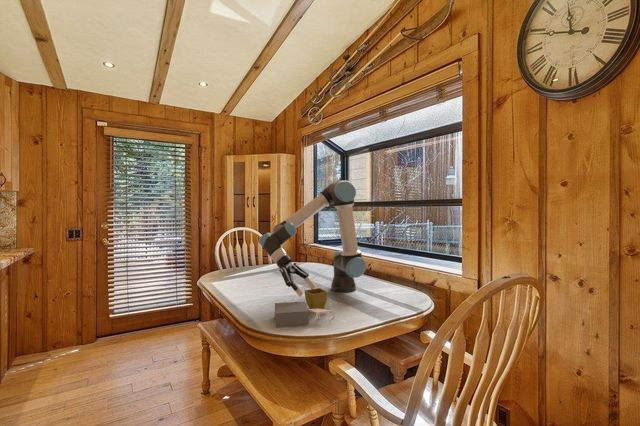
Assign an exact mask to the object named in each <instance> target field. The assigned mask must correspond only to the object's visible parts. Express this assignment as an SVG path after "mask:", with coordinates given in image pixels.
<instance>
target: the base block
mask: <svg viewBox="0 0 640 426" xmlns="http://www.w3.org/2000/svg"><path fill="white" fill-rule="evenodd" d="M308 309H309V307H308V305H307V303H306V300H305V301H304V300H303V301H287V302H274V322H275V324H274V327H275V328H290V327H291V328H292V327H300V326H301V327H304V326H310V320H309V317H310V312H309V310H308Z"/></svg>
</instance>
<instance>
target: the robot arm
mask: <svg viewBox="0 0 640 426" xmlns="http://www.w3.org/2000/svg"><path fill="white" fill-rule="evenodd" d="M356 196H357V189H356V186H355V185H354V184H353V183H352V182H350V181H349V180H339V181H336V182H335V181H334V182H332V183H330V184H328V185H327V186H326V187H325V188H324V189H323V190H322V191H320V192H319V193H318V195H317V196H316V197H314V198H313V199H312V200H311V201H309V202H307V204H305V205H304V206H303V207H301V208H300V209H298V210H297V211H295V212H294V213H293V214H291V215H290V216H288V217H287V218H286V219H285V220H283V221H281V222H280V223H278V224H276V225H275V226H274V227H273V229H272V234H271V233H270V232H266V233H264V234H262V235H261V236H260V237H259V239H258V242H259V244H260V246H261V247H262V249H263V250H264V251H265V252H266V254H267V255H268V256H269V257H270V258H271V259H272V261H273V262H274V263H275V264H276V266H277V267H278V268H279V271H278V272H280V274H281V276H282V279H283V280H284V283H285V285H286V286H287V287H288V288H292V289H293V291H294V292H295V293H296V294H297V296H298V297H301V296H303V295H304V294H305V292H304V291H303V290H302V288H300V286H299V285H298V284H297V282H294V281H295V280H294V277H293V274H294V275H297V276H298V277H300V278H302V279H303V281H304V282H305V283H306V284H307V285H308V287H309V289H316V287H317V285H316V284H315V283H314V282H313V281H312V280H311V279H310V274H309V272H307V271H306V270H305V269H303V268H302V267H301V266H299V264H297V262H293V263H292V261H293V260H292V258H291V257H290V256H289V254H288V253H287V252H286V251H285V249H284V248H283V247H282V246H283V244H285V243H286V242H287V241H288V240H290V239H291V238H292V237H294V236H295V235H296V234H297V233H298V230H297V228H298V227H299V226H301V225H302V224H304V223H305V222H306V221H308V220H309V219H311V218H312V217H314V216H315V215H316V214H317V213H319V212H320V211H321V210H323V209H324V208H327V207H330V206H331V205H333V207H334V208H335V209H336V210H337V211H336V212H337V219H338V225H339V231H340V238H341V239H340V241H341V246H342V250H341V251H340V250H339V251H334V253H333V278H332V281H331V284H330V289H331V290H332V291H333V292H338V293H349V292H350V291H351V292H354V291H356V290H357V284H356V281H355V278H360V277H362V276H363V275H364V274H365V272H366V270H367V263H366V260H365V259H364V258H363V254H362V251H361V250H360V249H359V245H358V240H357V232H356V224H355V216H354V212H353V211H354V209H353V207H354V205H355V197H356ZM351 292H350V293H351Z"/></svg>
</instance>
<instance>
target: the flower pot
mask: <svg viewBox="0 0 640 426" xmlns="http://www.w3.org/2000/svg"><path fill="white" fill-rule="evenodd" d="M303 292H304V297H305V302H306V305H307V308H308V309H324V308H325V307H326V305H327V301H328V300H327V299H328V294H329V293H328V291H327V290H324V289H323V288H320V287H318V288H316V287H315V288H314V289H311V288H309V289H304V291H303Z"/></svg>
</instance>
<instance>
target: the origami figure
mask: <svg viewBox="0 0 640 426" xmlns="http://www.w3.org/2000/svg"><path fill="white" fill-rule="evenodd" d="M308 310H309V313H310V312H311V313H314V314H315V315H316V316H315V317H314V321H315V322H316V324H317V325H318V324H319V323H320V321H319V320H320V315H321V314H327V313H329V314H331V316H332V318H330V319H329V323H330V322H331V323H332V320H334V319H335V318H336V316H335V315H334V313H333V312H332V310H330V309H324V308H323V309H310V308H308ZM310 320H312V319H311V317H310V316H309V321H310ZM316 324H315V325H316Z"/></svg>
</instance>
